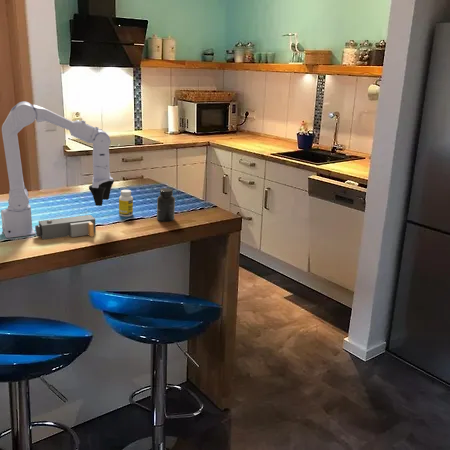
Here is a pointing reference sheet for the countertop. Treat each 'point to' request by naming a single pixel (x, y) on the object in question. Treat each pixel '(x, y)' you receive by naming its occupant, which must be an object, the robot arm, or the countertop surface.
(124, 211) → the supplement bottle
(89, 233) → the side door
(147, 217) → the countertop surface
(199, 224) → the countertop surface
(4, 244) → the countertop surface
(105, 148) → the robot arm
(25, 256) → the countertop surface
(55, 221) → the gray sliding door box
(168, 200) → the supplement bottle
